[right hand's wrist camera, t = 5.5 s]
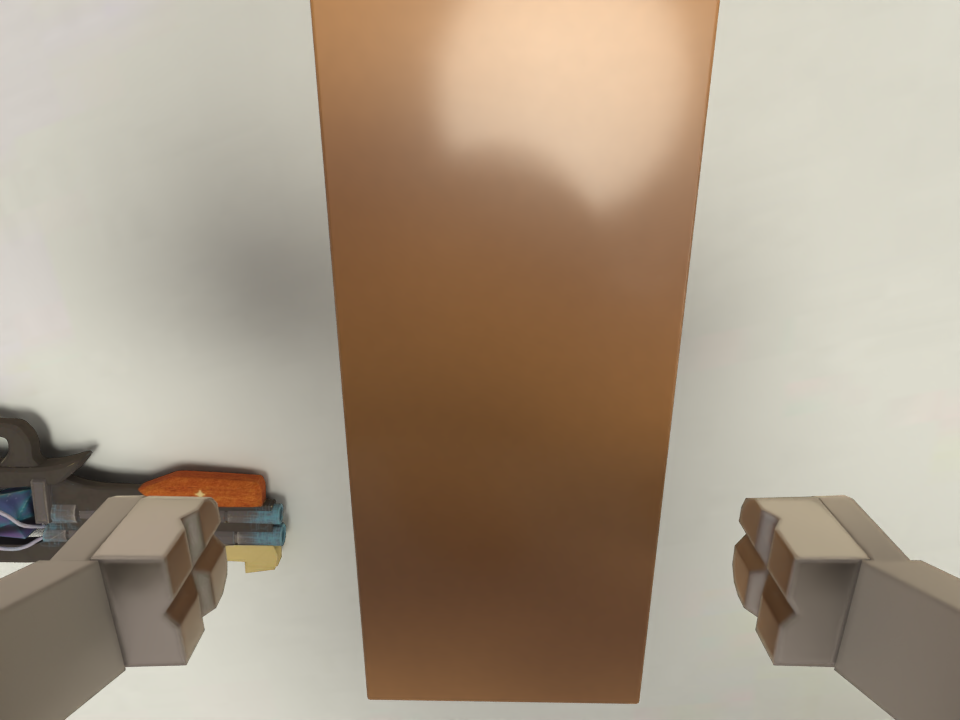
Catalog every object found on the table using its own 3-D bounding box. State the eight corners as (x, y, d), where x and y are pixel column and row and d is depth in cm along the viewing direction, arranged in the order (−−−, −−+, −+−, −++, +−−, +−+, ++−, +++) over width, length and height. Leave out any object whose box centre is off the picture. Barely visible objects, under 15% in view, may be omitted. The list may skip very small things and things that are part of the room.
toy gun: (-256, 339, 25) (-202, 579, 27) (272, 359, 26) (277, 586, 29) (-190, 323, 27) (-146, 544, 30) (287, 343, 29) (291, 552, 31)
